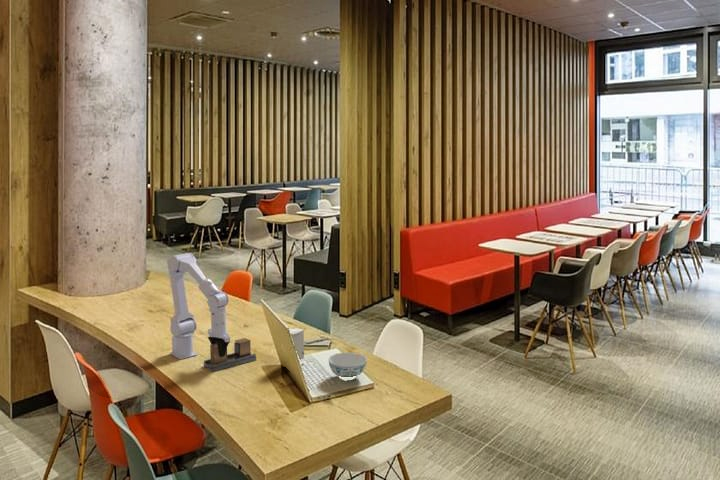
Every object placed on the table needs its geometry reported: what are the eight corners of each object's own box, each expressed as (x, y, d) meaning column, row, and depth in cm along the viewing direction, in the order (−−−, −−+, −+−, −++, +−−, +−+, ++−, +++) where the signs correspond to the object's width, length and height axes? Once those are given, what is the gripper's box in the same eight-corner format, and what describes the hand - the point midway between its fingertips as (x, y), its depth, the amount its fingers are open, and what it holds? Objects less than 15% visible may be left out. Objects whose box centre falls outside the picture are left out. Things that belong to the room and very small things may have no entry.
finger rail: (203, 366, 238) (203, 346, 237) (246, 355, 252) (245, 336, 250) (213, 371, 232) (212, 351, 231) (256, 360, 246) (256, 340, 244)
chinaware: (362, 387, 219) (362, 367, 218) (324, 383, 222) (324, 364, 221) (369, 372, 234) (370, 354, 232) (333, 369, 237) (333, 351, 235)
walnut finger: (210, 361, 238) (210, 345, 237) (222, 358, 241) (222, 342, 240) (215, 364, 235) (215, 347, 234) (227, 360, 239) (227, 344, 237)
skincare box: (293, 370, 235) (292, 334, 233) (280, 367, 238) (280, 332, 236) (304, 363, 242) (304, 329, 240) (292, 361, 245) (292, 326, 243)
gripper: (200, 320, 238) (201, 352, 240) (218, 328, 228) (219, 361, 230) (216, 317, 243) (217, 348, 245) (234, 325, 233) (235, 357, 235)
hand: (219, 354), depth 238 cm, fingers closed on walnut finger, 4 cm apart
